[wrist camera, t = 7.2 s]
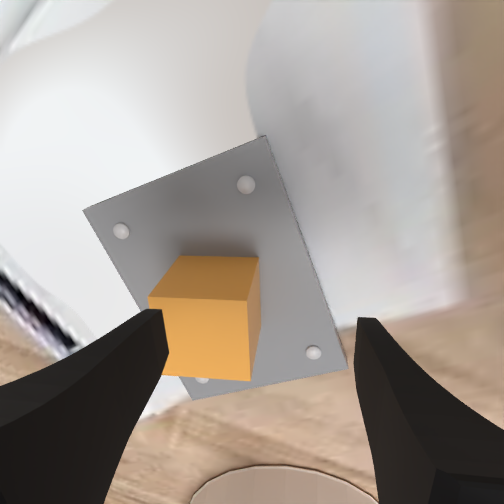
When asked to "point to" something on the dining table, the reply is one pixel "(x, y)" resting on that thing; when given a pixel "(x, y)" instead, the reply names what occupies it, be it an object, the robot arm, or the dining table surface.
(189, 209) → the plate
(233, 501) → the kettle
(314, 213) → the dining table surface
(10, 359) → the dining table surface
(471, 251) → the dining table surface
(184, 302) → the orange cube
